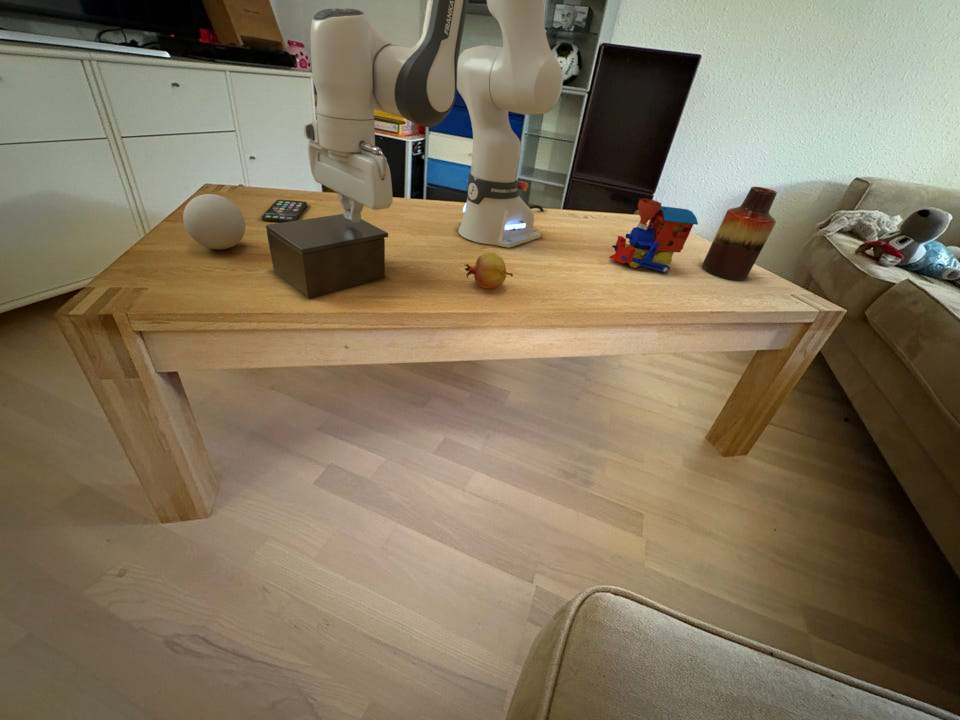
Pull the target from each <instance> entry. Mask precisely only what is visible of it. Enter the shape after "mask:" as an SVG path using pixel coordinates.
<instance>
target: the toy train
mask: <svg viewBox="0 0 960 720" xmlns="http://www.w3.org/2000/svg"><path fill="white" fill-rule="evenodd" d="M637 208H638V209H637V210H638V214H639V217H640V220H639V222H638V224H637V225H636V227H633V228H632V230H631V231H630V233H626V234H625V237H624V236H623V235H618V236H617V239H616V243H615V244H612V246H611V248H613V249H614V252H615V253H614V254H612V255H610V256H608V258H609V259H611V260H614V261H616V262H618V263H621V264H625V263H626V264H628V265H629V266H630V268H634V269H637V268H638V267H644V268H648V269H651V270H654V271H657V272H662V273H664V274H667V273H668V272H669V270H670V265H671V263H672V262H673V255H674V254H675V253H681V252H682V250H683V249H684V246H685V243H686V241H687V239H688V237H689V236H690V233H691V230H692V229H693V226H694V225H699V222H698V219H697V216H696V215H695V213H694V212H693V211H692V210H690V209H688V208H680V207H671V206H663V205H662V202H660V201H657V200H655V199H652V198H651V199H650V198H639V200H638V203H637ZM648 221H649V222H648ZM647 223H648V224H647ZM627 240H628V243H627Z"/></svg>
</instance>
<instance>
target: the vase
mask: <svg viewBox="0 0 960 720" xmlns="http://www.w3.org/2000/svg"><path fill="white" fill-rule="evenodd" d="M777 195H778V192H777V191H776V190H774V189H771V188H768V187H767V188H766V187H763V186H762V187H761V186H751V188H750V189H749V191H748V193H747V194H746V196H745V198H744V199H743V201H742V204H740V206H735V207H730V208H728V209H727V210H726V212H725V215H724V216H723V219H722V221H721V223H720V225H719V228H718V230H717V231H716V233H715V236H714V238H713V240H712V242H711V245H710V246H709V249H708V251H707V254H706V255H705V258H704V260H703V262H702V265H701V267H702V269H703V270H705V271H706V272H707V273H709V274H711V275H713V276H715V277H719V278H721V279H725V280H729V281H735V282H736V281H737V282H738V281H745V280H747V278H748V277H749V274H750V272H751V271H752V269H753V267H754V266H755V263H756V262H757V260H758V257H759V255H760V254H761V252H762V250H763V248H764V246H765V244H766V243H767V241H768V238H769V237H770V235H771V233H772V232H773V229H774V227H775V226H776V224H777V220H776V218H775V217H774V216H773V215H772V214H770V211H771V209H772V206H773V203H774V202H775V200H776V197H777Z"/></svg>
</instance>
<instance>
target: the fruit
mask: <svg viewBox="0 0 960 720" xmlns="http://www.w3.org/2000/svg"><path fill="white" fill-rule="evenodd" d="M463 265H464V266H465V268H464V270H465V271H466V274H465V277H466V278H467V279H468V278H469V277H470V275H474V281H475V283H476V284H477V285H478V286H479V287H480V288H483V289H488V290H491V289H496V288H498V287H500V286H502V285H503V283H504V282H505V281H506V278H507V275H509V276H511V277H514V273H512V272H507V269H506V268H507V267H506V263H505V260H504V259H503V258H502V257H501V256H500V255H498V254H497V253H495V252H484V253H481V254H480V255H479V256H478V257H477V259H476V261H475V265H473V266H471V265H470V264H469V263H467V264H463Z"/></svg>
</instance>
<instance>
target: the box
mask: <svg viewBox="0 0 960 720" xmlns="http://www.w3.org/2000/svg"><path fill="white" fill-rule="evenodd" d="M266 236H267V241H268V247H269V252H270V258H271V265H272V268H273V272H274V273H275V274H276V275H278V276H279V277H280V278H281V279H282V280H284V281H285V282H286V283H288V284H289V285H290V286H291V287H293V288H294V289H296V290H297V291H298V292H299V293H301V294H302V295H303V296H304V297H306V298H307V299H312V298H315V297H319V296H323V295H326V294H327V295H328V294H330V293H334V292H338V291H341V290H345V289H349V288H353V287H356V286H360V285H364V284H367V283H372V282H375V281H378V280H382V279H386V247H385V244H386V242H385V241H386V238H381V239H376V240H371V241H366V242H361V243H356V244H351V245H346V246H341V247H335V248H330V249H325V250H320V251H315V252H310V253H305V254H302V253H300V252H299V251H297V250H296V249H294V248H293V247H291V246H290V245H289V244H287V243H286V242H284V241H283V240H281V239H280V238H278V237H277V236H275V235H274V234H273V233H271V232H270V231H268V230H267V229H266Z"/></svg>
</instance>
